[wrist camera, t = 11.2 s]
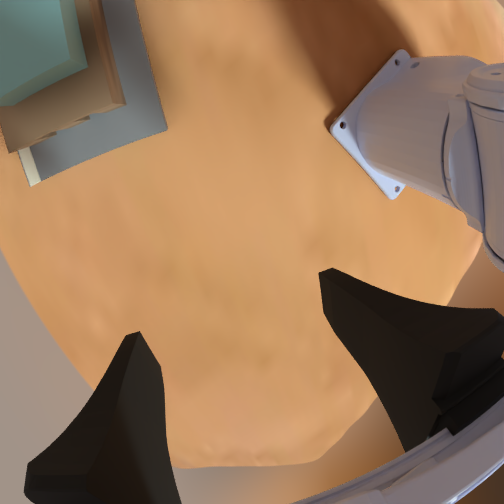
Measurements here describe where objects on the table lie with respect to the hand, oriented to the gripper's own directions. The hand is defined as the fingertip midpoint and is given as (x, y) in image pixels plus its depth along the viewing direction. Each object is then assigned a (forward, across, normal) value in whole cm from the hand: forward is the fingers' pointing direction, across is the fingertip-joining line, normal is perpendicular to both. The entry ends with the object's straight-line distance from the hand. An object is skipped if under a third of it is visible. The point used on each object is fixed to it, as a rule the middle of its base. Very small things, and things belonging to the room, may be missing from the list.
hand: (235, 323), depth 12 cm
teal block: (+4, +5, -14) cm, 15 cm away
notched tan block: (+8, +5, -14) cm, 17 cm away
